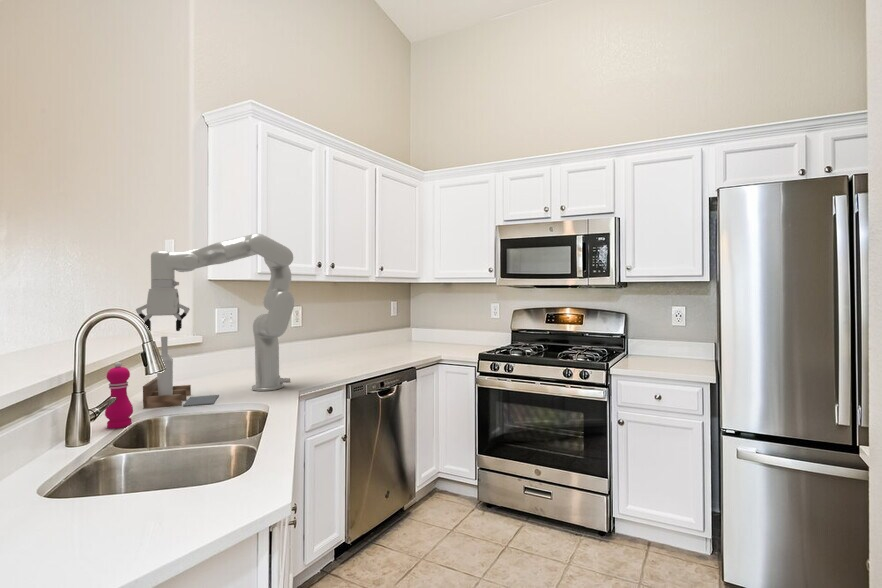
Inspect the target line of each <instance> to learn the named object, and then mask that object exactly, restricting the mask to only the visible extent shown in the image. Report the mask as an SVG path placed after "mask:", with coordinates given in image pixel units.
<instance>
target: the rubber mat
mask: <svg viewBox="0 0 882 588" xmlns="http://www.w3.org/2000/svg"><path fill="white" fill-rule="evenodd" d="M219 397H220V395H219V394H213V395H211V394H210V395H198V396H197V395H196V396H190V397H189V398H188V399H187V400H185V401H186V402H185V403H184V404H182V407H183V408H184V407H195V406H196V407H199V406H209V405H215V402H216V401H217V399H218V398H219Z"/></svg>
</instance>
